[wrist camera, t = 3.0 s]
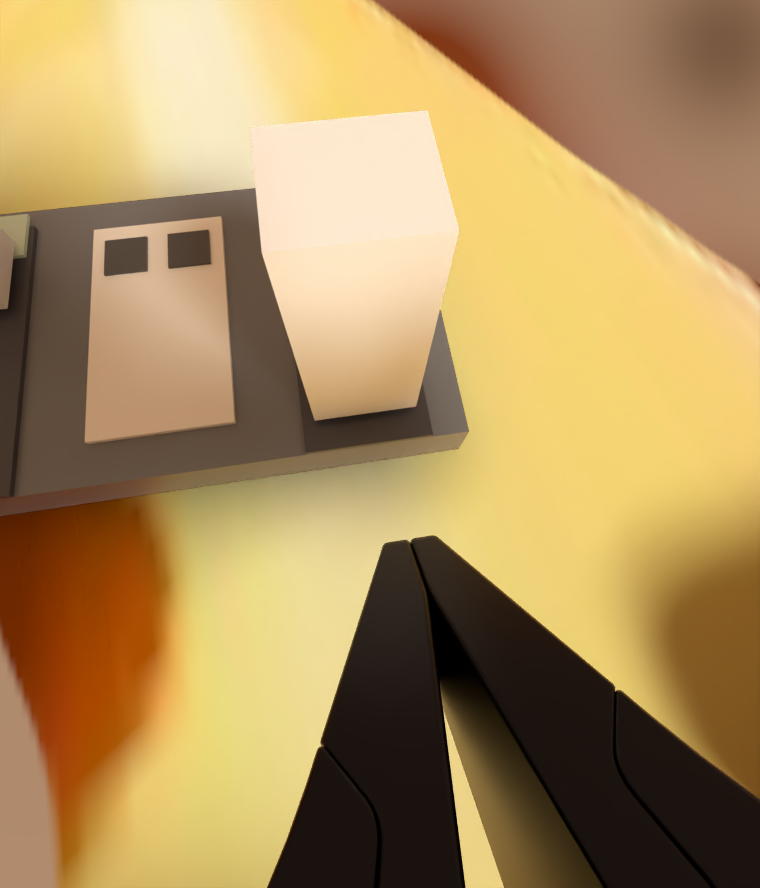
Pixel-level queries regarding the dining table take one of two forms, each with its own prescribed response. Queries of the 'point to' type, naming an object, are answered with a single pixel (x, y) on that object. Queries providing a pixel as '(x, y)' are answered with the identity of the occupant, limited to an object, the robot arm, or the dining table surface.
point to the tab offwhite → (356, 253)
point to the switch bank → (170, 361)
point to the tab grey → (5, 267)
